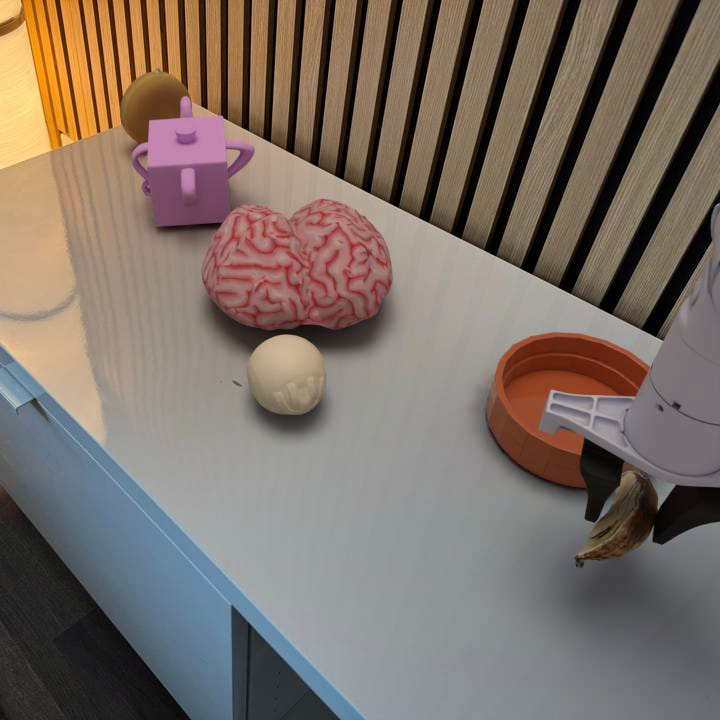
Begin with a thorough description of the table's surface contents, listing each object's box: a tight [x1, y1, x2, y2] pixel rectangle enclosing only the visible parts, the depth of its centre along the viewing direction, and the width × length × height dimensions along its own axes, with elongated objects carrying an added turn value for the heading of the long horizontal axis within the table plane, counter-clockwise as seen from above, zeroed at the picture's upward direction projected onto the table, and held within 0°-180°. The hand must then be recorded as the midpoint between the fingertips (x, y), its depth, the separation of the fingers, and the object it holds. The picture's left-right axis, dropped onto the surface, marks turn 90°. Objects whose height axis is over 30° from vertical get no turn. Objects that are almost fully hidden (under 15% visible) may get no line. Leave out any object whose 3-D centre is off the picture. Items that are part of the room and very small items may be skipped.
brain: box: [201, 198, 394, 331], centre depth 74 cm, size 19×18×10 cm
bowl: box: [485, 331, 651, 489], centre depth 63 cm, size 14×14×4 cm
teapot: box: [130, 96, 256, 228], centre depth 87 cm, size 18×14×10 cm
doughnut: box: [119, 67, 193, 145], centre depth 96 cm, size 9×4×10 cm, turn 122°
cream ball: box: [246, 334, 327, 416], centre depth 65 cm, size 7×7×7 cm
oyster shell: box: [573, 471, 659, 569], centre depth 51 cm, size 6×4×10 cm
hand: (625, 520), depth 51 cm, fingers closed on oyster shell, 4 cm apart
